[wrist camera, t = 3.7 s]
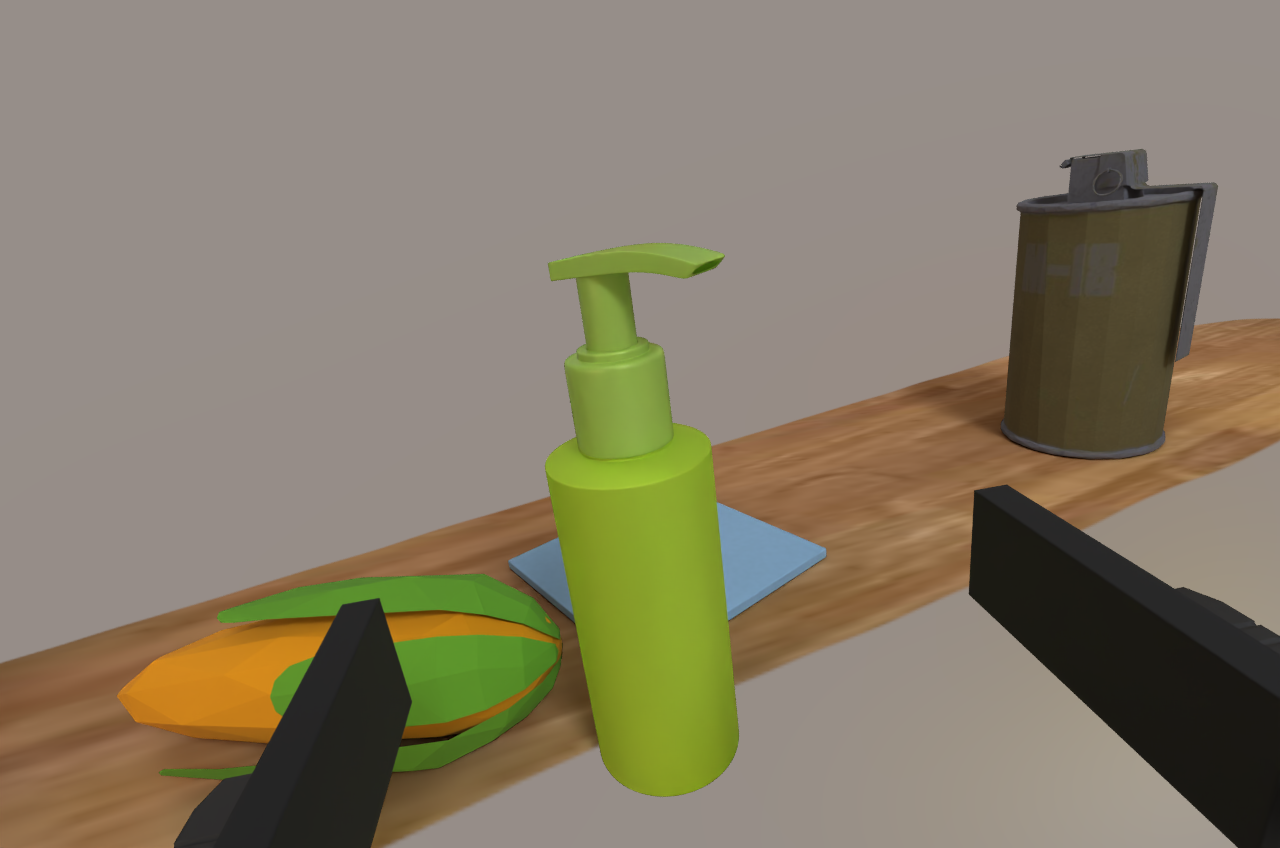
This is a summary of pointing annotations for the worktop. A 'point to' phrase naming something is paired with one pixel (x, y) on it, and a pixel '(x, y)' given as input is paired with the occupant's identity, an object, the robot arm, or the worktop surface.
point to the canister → (1103, 308)
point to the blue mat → (748, 556)
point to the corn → (425, 644)
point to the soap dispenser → (642, 540)
